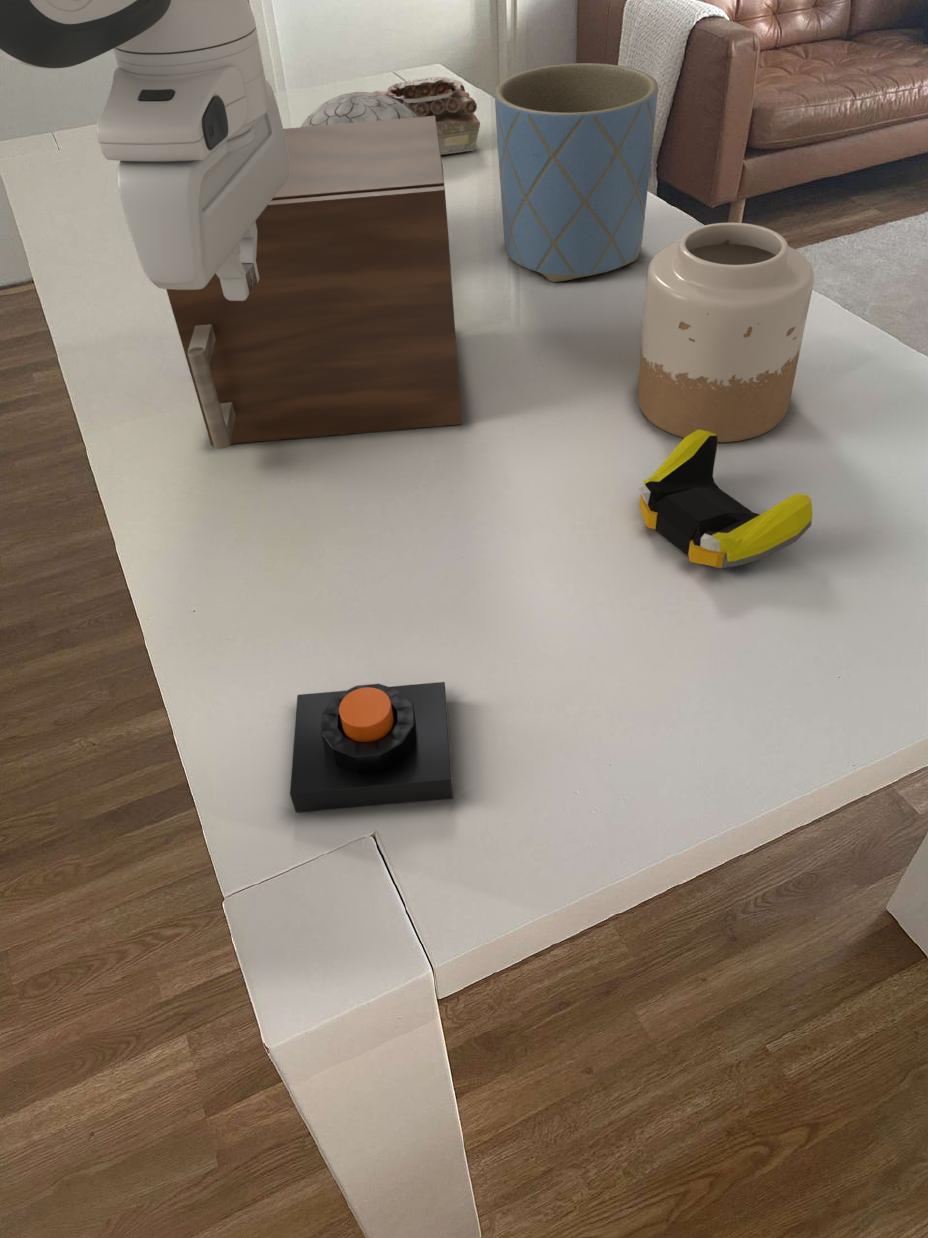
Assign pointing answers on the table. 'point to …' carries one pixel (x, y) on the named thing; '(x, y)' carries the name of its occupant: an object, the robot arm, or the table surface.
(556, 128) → the planter
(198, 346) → the cupboard door
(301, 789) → the control block
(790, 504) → the gaming controller
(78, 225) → the table surface
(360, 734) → the button
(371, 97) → the decorative sphere
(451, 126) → the tank model
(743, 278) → the vase
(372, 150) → the cupboard
